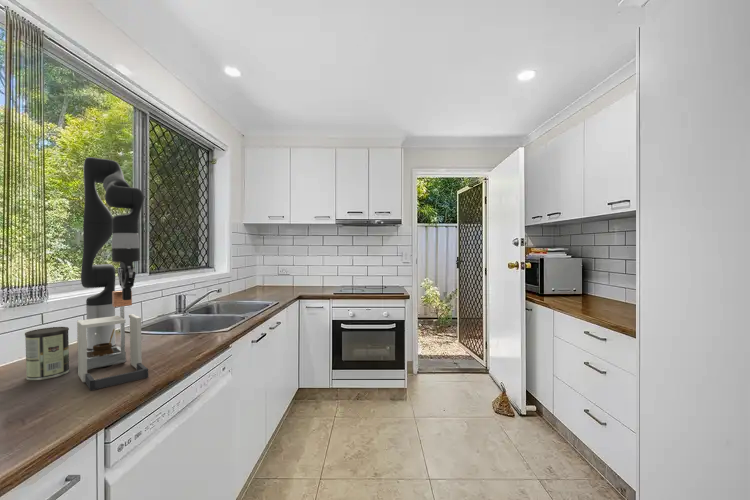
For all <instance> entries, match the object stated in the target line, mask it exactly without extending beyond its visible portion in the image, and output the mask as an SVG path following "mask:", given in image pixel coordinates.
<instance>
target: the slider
mask: <svg viewBox="0 0 750 500" xmlns="http://www.w3.org/2000/svg"><path fill="white" fill-rule="evenodd" d="M132 295H133V293H132V290H131V300H123V299H122V290H115V291H112V306H113V307H115V308H118V307H119V314H120V315H119V316H120V317H121V318H123V319H125V307H127V306H132V305H133V297H132ZM119 325H120V326H119V327H120V329H119V330H120V331H119V333H120V346H119V345H117V346H112V347H111V348H112V349H113V353H114V354H108V355H103V356H97V357H92V352H93V351H94V350H93V349H92V350H87V370H91V369H97V368H98V367H100V368H104V367H103V366H106V367H109V366H112V365H117V364H121V363H127V351H126V339H125V337H126V336H125V335H126V334H125V330H126V329H125V325H126V323H121V324H119ZM108 365H109V366H108Z"/></svg>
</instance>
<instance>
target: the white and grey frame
mask: <svg viewBox="0 0 750 500" xmlns="http://www.w3.org/2000/svg"><path fill="white" fill-rule="evenodd" d="M128 318H129V346H130V347H129V350H130V353H129V356H130V357H129V358H130V365H131V366H132V367H133V368H135V369H136V370H137V363H141V364H142V363H143V362H142V357H143V356H142V353H143V352H142V317H140V316H138V315H136V314H134V313H131V314H130V313H129V314H128ZM126 322H127V321H126V319H125V318H124V319H123V318H121V317H120V315H115V316H112V317H104V318H95V319H87V318H86V319H81V320H80V319H79V320H77V321H76V327H77V328H76V329H77V330H76V331H77V335H76V337H77V338H76V339H77V375H78V377H79V378H80V380H81V382H82V383H86V382H85V374H88V369H87V351H88V349H87V328H90V327H98V326H106V325H113V324H115V325H120V324H121V323H125V324H126ZM142 365H143V364H142Z"/></svg>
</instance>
